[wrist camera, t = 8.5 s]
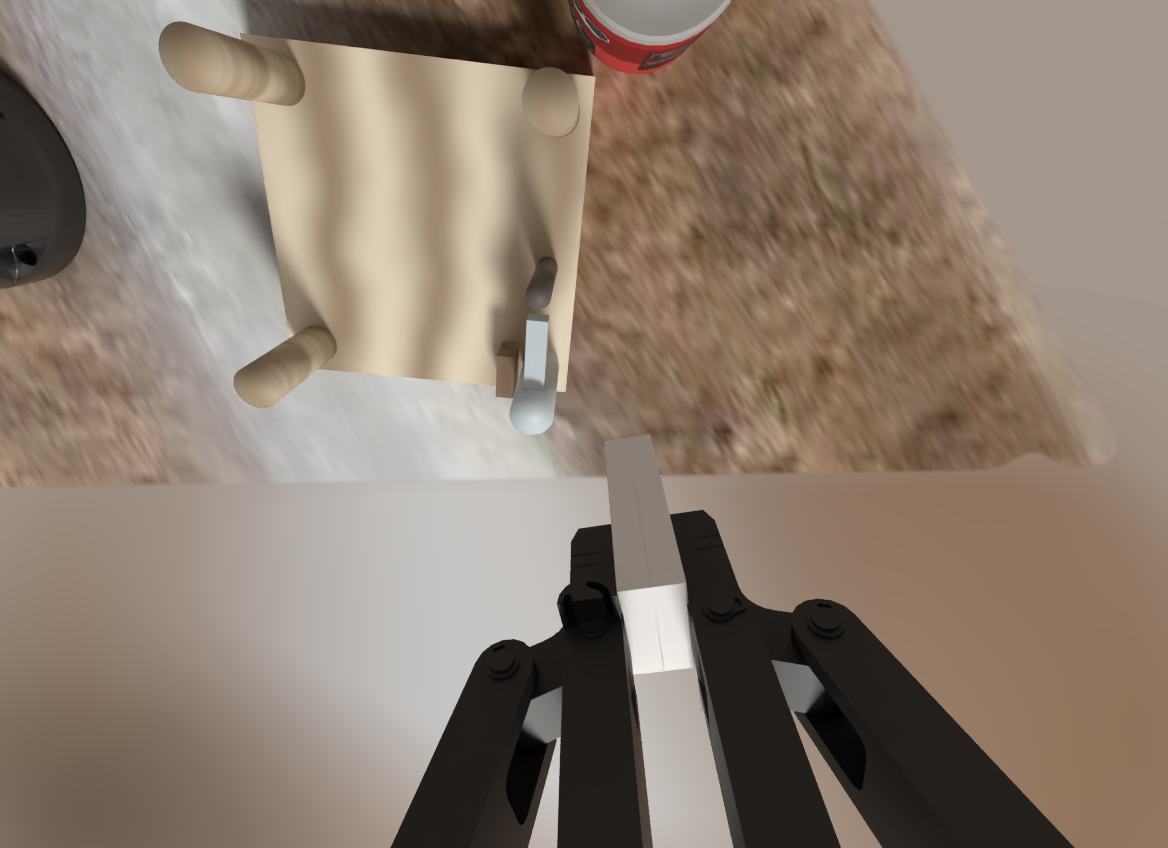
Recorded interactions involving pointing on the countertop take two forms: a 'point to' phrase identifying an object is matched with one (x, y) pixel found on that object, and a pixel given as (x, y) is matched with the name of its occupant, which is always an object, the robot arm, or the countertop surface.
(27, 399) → the countertop surface
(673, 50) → the canned food
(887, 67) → the countertop surface
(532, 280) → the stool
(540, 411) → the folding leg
